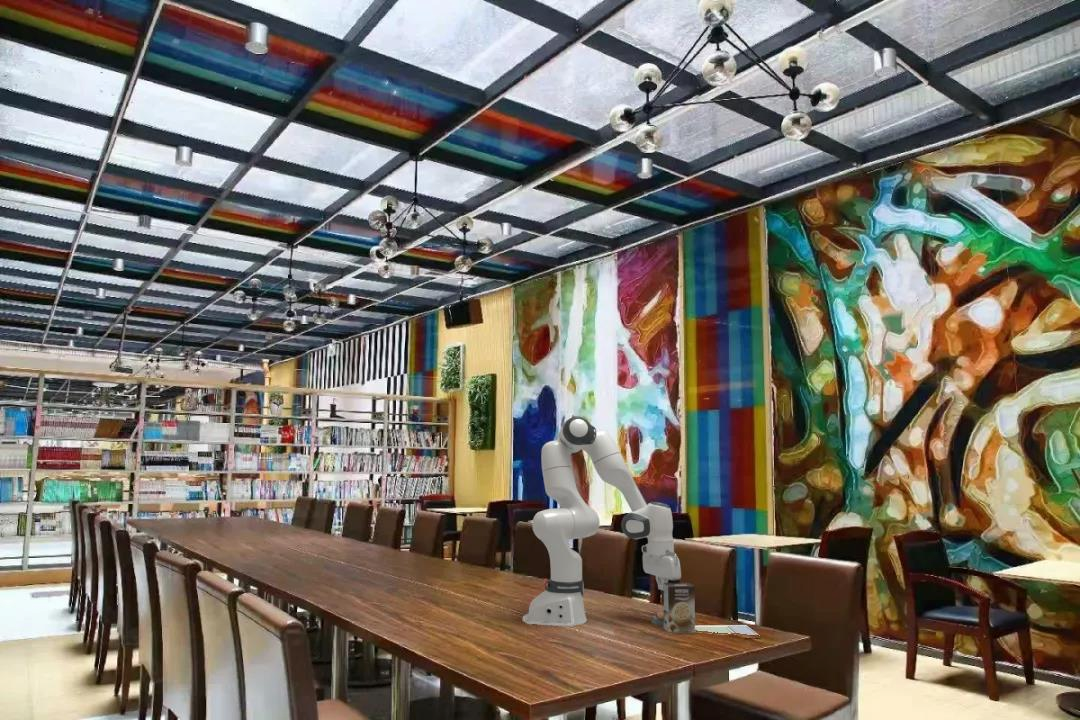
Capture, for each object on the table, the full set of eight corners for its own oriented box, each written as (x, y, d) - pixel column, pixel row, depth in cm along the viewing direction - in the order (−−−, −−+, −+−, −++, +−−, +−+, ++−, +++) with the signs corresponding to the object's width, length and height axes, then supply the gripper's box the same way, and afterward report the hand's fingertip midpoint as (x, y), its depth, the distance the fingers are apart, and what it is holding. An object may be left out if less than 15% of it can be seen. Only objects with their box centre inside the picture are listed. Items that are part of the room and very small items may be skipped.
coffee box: (668, 636, 241) (667, 586, 243) (663, 631, 248) (662, 582, 249) (695, 635, 242) (694, 586, 244) (689, 630, 249) (689, 582, 250)
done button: (658, 620, 254) (658, 613, 254) (656, 618, 257) (656, 611, 257) (666, 620, 254) (666, 613, 254) (665, 618, 257) (664, 611, 257)
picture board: (700, 639, 238) (700, 637, 238) (688, 627, 253) (688, 625, 253) (761, 638, 239) (761, 636, 239) (746, 626, 254) (746, 624, 254)
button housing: (654, 627, 252) (654, 619, 252) (651, 623, 258) (651, 615, 258) (672, 627, 252) (672, 619, 252) (668, 623, 258) (668, 615, 258)
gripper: (684, 552, 249) (686, 594, 248) (654, 545, 268) (655, 584, 267) (668, 553, 247) (670, 595, 245) (639, 546, 266) (640, 585, 264)
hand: (662, 589), depth 256 cm, fingers closed
